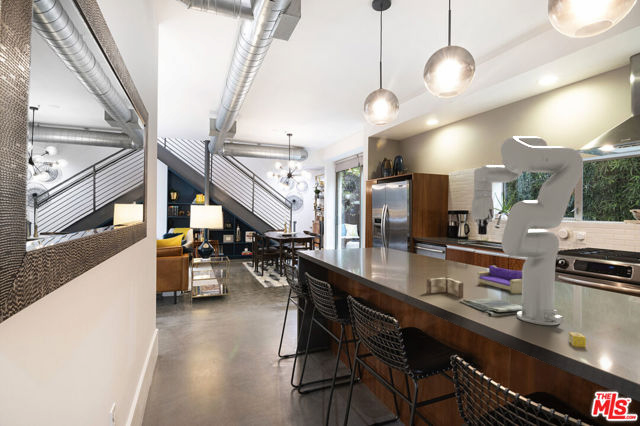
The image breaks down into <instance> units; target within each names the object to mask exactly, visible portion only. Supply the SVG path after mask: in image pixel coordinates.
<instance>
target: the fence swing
mask: <svg viewBox="0 0 640 426" xmlns="http://www.w3.org/2000/svg"><path fill="white" fill-rule="evenodd" d="M446 280H447V278H445V277H437V278H435V277H434V278H426V294H436V293H437V294H438V293H447V292H446Z"/></svg>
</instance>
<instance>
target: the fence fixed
mask: <svg viewBox="0 0 640 426" xmlns="http://www.w3.org/2000/svg"><path fill="white" fill-rule="evenodd" d="M444 278H447V280H446V292H445V293H449V294H452V295H453V296H456V297H458V298H461V299H462V298H464V282H461V281H459V280H456V279H453V278H450V276H445V277H444Z"/></svg>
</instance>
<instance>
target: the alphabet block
mask: <svg viewBox="0 0 640 426" xmlns="http://www.w3.org/2000/svg"><path fill="white" fill-rule="evenodd" d="M567 336H568V337H567V339H568V343H569V344H570V345H571V346H573V347H578V348H586V343H587V342H586V340H587V337H585V336H584V335H583V334H582V333H580V332H573V331H571V332H570V331H569V332H568V335H567Z"/></svg>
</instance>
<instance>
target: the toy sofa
mask: <svg viewBox="0 0 640 426" xmlns="http://www.w3.org/2000/svg"><path fill="white" fill-rule="evenodd" d="M476 274H477V285H478V286H486V285H489V286H492V287H496V288H499V289H503V290H508V291H510V293H511V294H514V295H515V294H517V295H519V294H522V270H513V269H506V268H504V267H503V268H501V267H497V266H496V265H489V266H488V271H477V273H476Z"/></svg>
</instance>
